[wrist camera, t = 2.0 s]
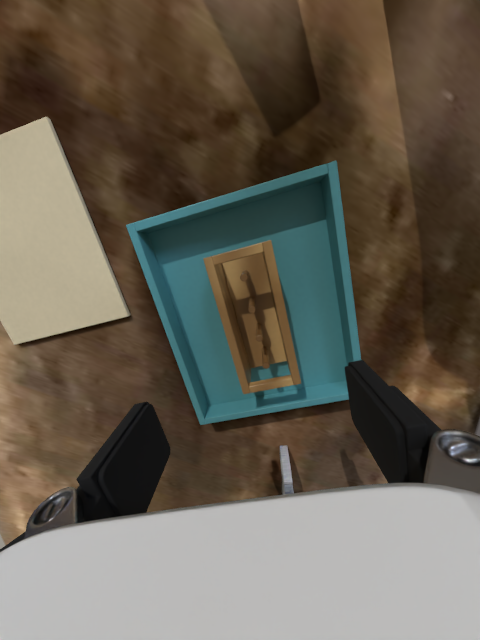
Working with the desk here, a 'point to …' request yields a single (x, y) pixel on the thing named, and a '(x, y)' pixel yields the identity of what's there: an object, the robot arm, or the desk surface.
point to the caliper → (286, 471)
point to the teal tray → (295, 278)
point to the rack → (253, 313)
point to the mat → (48, 243)
